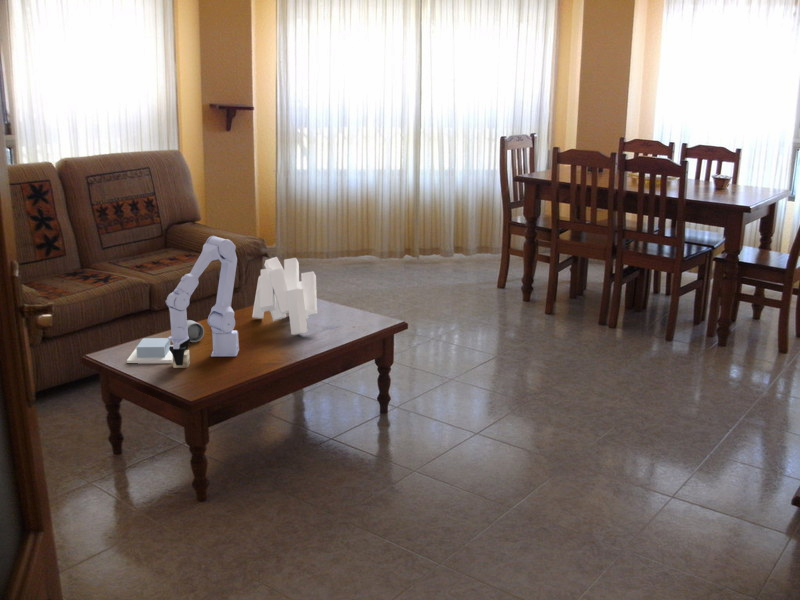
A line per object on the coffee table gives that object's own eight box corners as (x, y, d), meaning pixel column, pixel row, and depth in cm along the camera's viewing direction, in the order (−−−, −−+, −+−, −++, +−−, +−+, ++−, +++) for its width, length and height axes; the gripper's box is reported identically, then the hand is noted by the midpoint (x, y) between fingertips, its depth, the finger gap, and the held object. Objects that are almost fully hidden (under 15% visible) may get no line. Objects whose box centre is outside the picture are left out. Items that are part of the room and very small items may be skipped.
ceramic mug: (196, 334, 333) (195, 316, 330) (205, 340, 326) (203, 321, 324) (171, 340, 327) (169, 321, 324) (179, 345, 320) (177, 327, 318)
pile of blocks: (340, 340, 344) (342, 258, 352) (291, 329, 320) (294, 242, 328) (278, 347, 364) (281, 269, 371) (227, 337, 340) (232, 255, 347)
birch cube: (190, 362, 303) (189, 349, 301) (187, 367, 298) (186, 354, 296) (176, 362, 302) (175, 350, 301) (173, 367, 298) (172, 354, 296)
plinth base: (180, 348, 317) (179, 335, 316) (171, 363, 302) (170, 349, 300) (137, 348, 316) (136, 335, 315) (127, 363, 301) (125, 350, 299)
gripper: (171, 319, 303) (174, 354, 306) (163, 332, 289) (165, 368, 292) (191, 319, 303) (193, 354, 307) (183, 331, 289) (186, 368, 293)
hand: (181, 361), depth 300 cm, fingers open, 7 cm apart
